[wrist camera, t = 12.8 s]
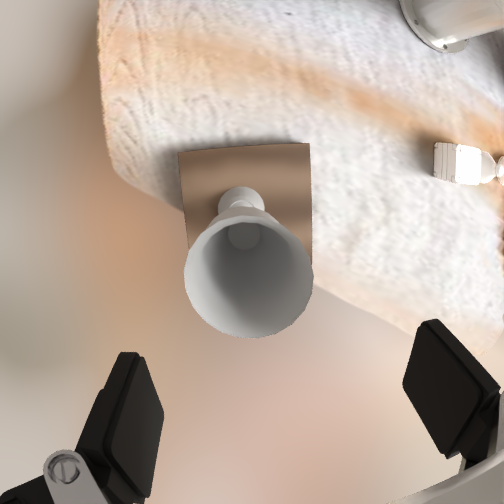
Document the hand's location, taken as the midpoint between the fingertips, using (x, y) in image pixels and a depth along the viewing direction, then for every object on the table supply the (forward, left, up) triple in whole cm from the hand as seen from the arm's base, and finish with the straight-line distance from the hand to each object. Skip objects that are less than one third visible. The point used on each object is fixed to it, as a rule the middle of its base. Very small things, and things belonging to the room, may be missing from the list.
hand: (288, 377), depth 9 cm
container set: (-5, +36, -29) cm, 46 cm away
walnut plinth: (0, 0, -28) cm, 28 cm away
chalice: (0, -1, -25) cm, 25 cm away
